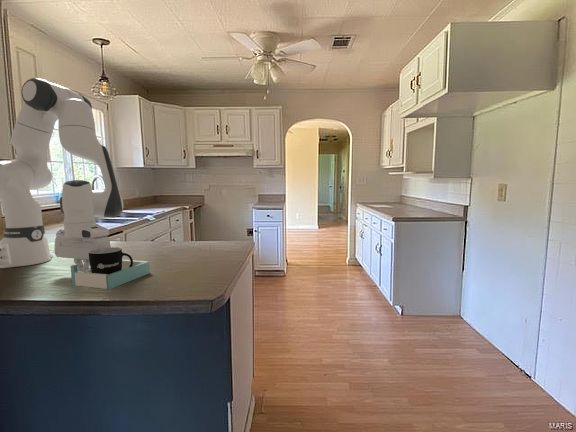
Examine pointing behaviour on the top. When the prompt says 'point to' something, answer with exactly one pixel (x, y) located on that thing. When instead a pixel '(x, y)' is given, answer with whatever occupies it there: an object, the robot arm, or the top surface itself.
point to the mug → (107, 260)
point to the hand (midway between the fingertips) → (83, 271)
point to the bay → (110, 275)
